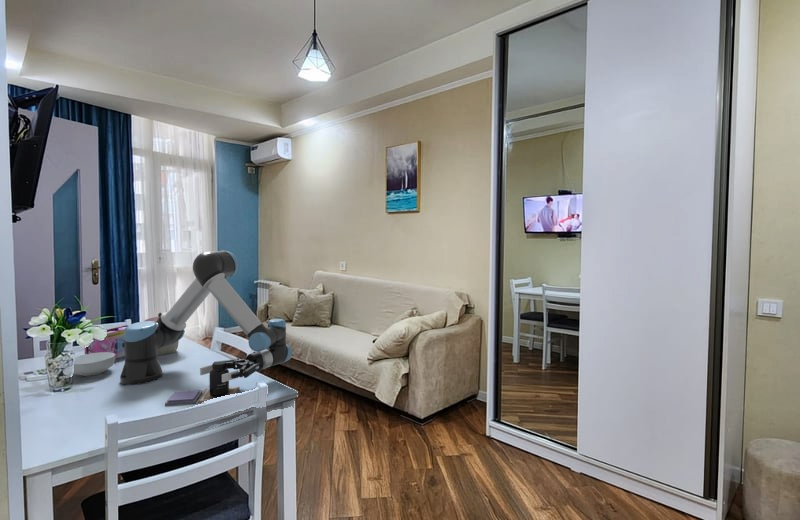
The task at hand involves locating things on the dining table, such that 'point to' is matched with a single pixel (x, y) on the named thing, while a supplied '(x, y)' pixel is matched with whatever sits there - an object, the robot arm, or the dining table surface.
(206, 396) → the marked board
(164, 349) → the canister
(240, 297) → the robot arm
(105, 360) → the cereal bowl
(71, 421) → the dining table surface
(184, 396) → the ink pad
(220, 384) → the supplement bottle
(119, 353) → the gum box
